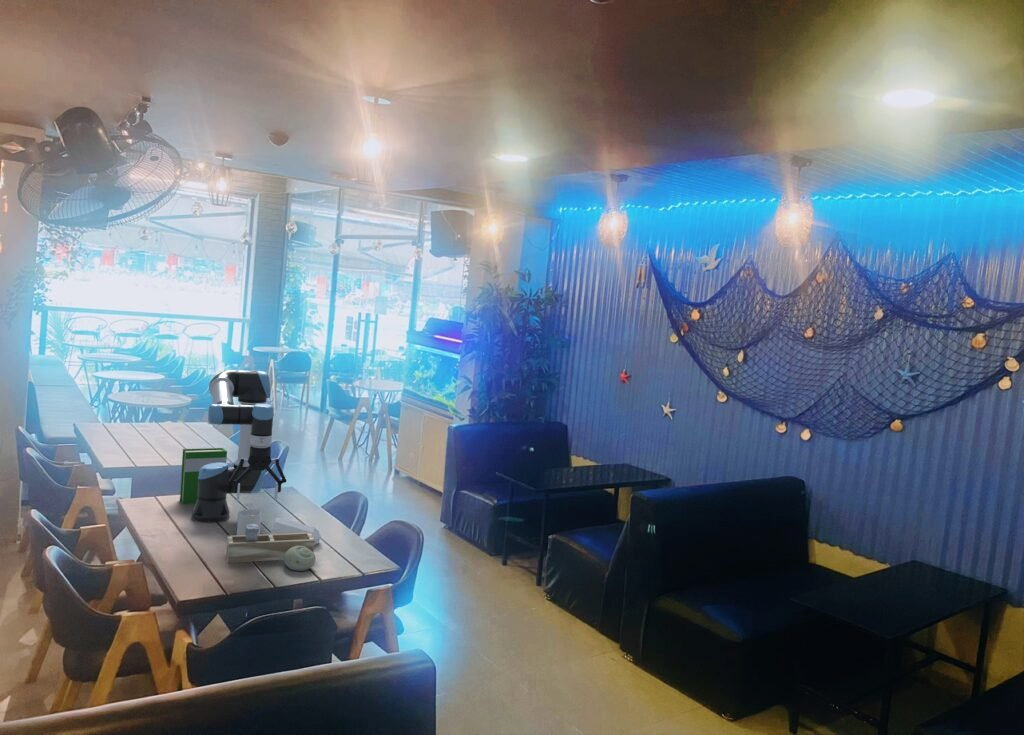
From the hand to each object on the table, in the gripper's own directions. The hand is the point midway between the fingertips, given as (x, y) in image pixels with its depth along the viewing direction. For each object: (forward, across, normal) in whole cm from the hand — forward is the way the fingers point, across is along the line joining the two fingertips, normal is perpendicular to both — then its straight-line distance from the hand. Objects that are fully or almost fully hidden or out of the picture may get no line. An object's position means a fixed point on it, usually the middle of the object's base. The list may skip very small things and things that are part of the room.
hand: (256, 500), depth 274 cm
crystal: (+22, +17, +16) cm, 32 cm away
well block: (+21, +6, -3) cm, 22 cm away
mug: (+21, -1, +19) cm, 29 cm away
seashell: (+21, +14, -16) cm, 30 cm away
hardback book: (+23, -17, +74) cm, 79 cm away
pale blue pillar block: (+20, -1, -3) cm, 20 cm away
